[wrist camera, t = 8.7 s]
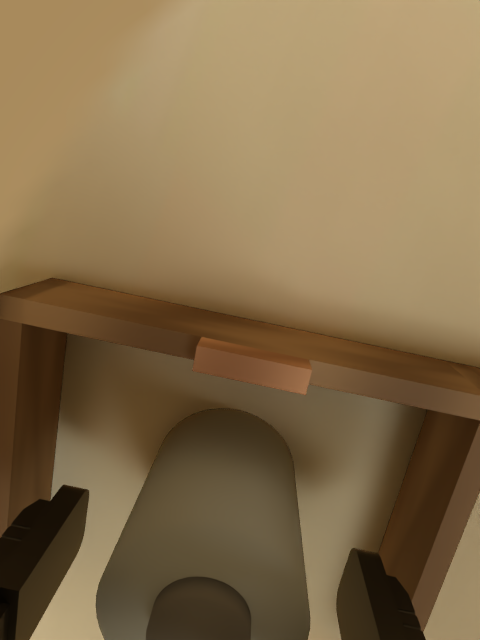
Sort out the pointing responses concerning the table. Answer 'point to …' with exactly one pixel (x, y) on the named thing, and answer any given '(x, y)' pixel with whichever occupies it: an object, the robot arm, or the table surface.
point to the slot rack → (257, 368)
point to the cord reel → (211, 540)
